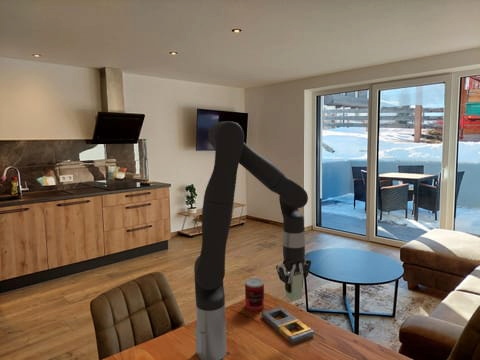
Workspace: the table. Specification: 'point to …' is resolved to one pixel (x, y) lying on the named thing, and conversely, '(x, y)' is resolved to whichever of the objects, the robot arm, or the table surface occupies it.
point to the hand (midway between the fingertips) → (294, 290)
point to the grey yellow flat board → (287, 325)
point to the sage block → (295, 287)
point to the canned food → (254, 294)
